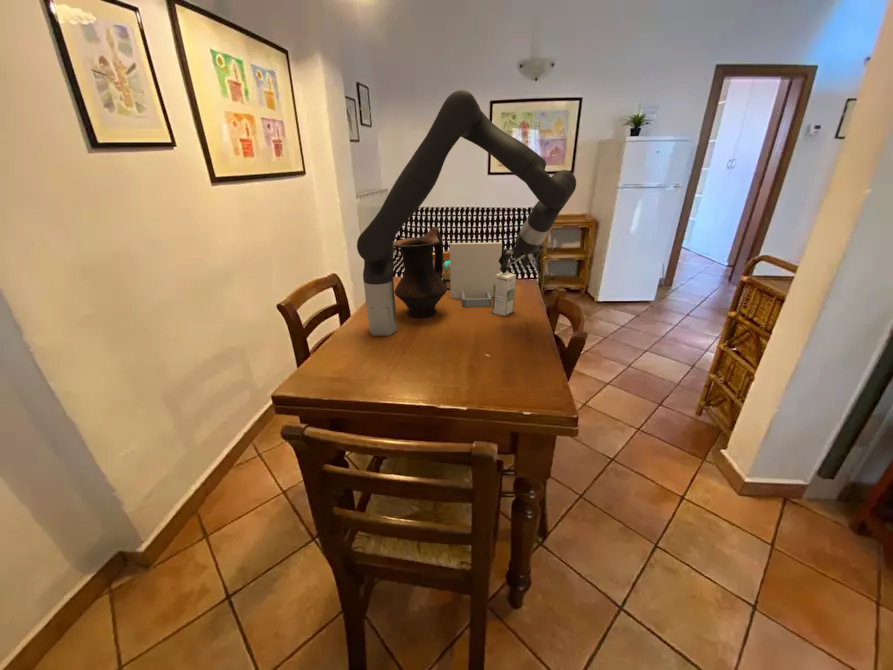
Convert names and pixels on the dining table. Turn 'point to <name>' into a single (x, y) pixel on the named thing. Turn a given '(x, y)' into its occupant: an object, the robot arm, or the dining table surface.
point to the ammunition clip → (447, 280)
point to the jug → (421, 274)
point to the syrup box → (503, 293)
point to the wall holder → (474, 272)
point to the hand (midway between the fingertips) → (513, 268)
